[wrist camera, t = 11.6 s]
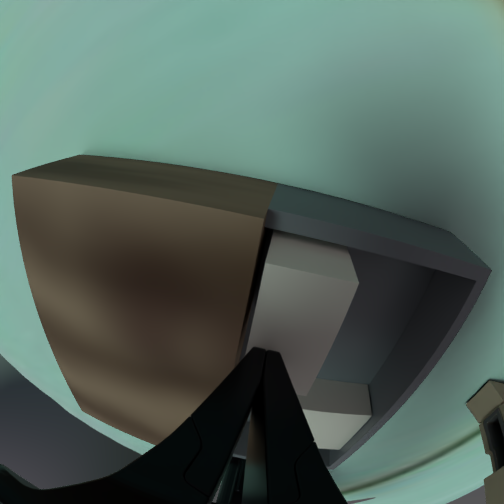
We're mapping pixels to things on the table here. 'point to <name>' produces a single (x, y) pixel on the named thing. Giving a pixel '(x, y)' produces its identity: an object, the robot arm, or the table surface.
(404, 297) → the box
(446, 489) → the table surface
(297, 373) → the tile
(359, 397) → the tile
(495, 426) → the gun
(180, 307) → the walnut plate
